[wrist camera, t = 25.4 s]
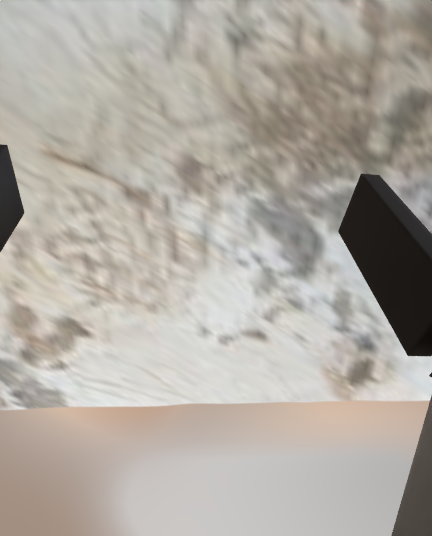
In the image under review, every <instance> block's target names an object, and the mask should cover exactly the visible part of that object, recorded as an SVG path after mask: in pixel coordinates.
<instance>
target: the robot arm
mask: <svg viewBox="0 0 432 536" xmlns="http://www.w3.org/2000/svg"><path fill="white" fill-rule="evenodd" d="M23 214H24V209H23V205H22V202H21V198H20V194H19V190H18V186H17V182H16V178H15V174H14V170H13V166H12V162H11V158H10V154H9V150H8V146H7V145H0V252H1V250H2V249H3V247H4V245H5V244H6V242H7V241H8V239H9V237H10V236H11V234H12V232H13V231H14V229H15V227H16V226H17V224H18V222H19V221H20V219H21V218H22V216H23ZM338 232H339V234H340V235H341V237H342V239H343V241H344V243H345V244H346V246H347V248H348V250H349V252H350V253H351V255H352V257H353V259H354V260H355V262H356V264H357V266H358V268H359V269H360V271H361V273H362V275H363V277H364V278H365V280H366V282H367V284H368V285H369V287H370V289H371V291H372V293H373V294H374V296H375V298H376V300H377V302H378V303H379V305H380V307H381V309H382V310H383V312H384V314H385V316H386V318H387V319H388V321H389V323H390V325H391V326H392V328H393V330H394V332H395V334H396V335H397V337H398V339H399V341H400V343H401V344H402V346H403V348H404V350H405V351H406V353H407V355H408V356H432V234H431V233H430V232H429V231H428V230H427V228H426V227H425V226H424V225H423V224H422V223H421V222H420V221H419V219H418V218H417V217H416V216H415V215H414V214H413V213H412V212H411V210H410V209H409V208H408V207H407V206H406V205H405V204H404V203H403V201H402V200H401V199H400V198H399V197H398V196H397V195H396V194H395V192H394V191H393V190H392V189H391V188H390V187H389V186H388V184H387V183H386V182H385V181H384V180H383V179H382V178H381V177H380V175H370V174H361V175H360V178H359V180H358V183H357V185H356V188H355V190H354V193H353V195H352V198H351V201H350V203H349V206H348V208H347V211H346V213H345V216H344V218H343V221H342V223H341V226H340V228H339V231H338ZM429 376H430V377H432V373H431V374H430V375H429ZM392 536H432V396H431V400H430V403H429V407H428V410H427V414H426V417H425V421H424V424H423V428H422V431H421V435H420V438H419V442H418V445H417V449H416V452H415V456H414V459H413V463H412V466H411V470H410V473H409V477H408V480H407V484H406V487H405V490H404V494H403V497H402V501H401V504H400V508H399V511H398V515H397V518H396V522H395V525H394V529H393V532H392Z"/></svg>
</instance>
